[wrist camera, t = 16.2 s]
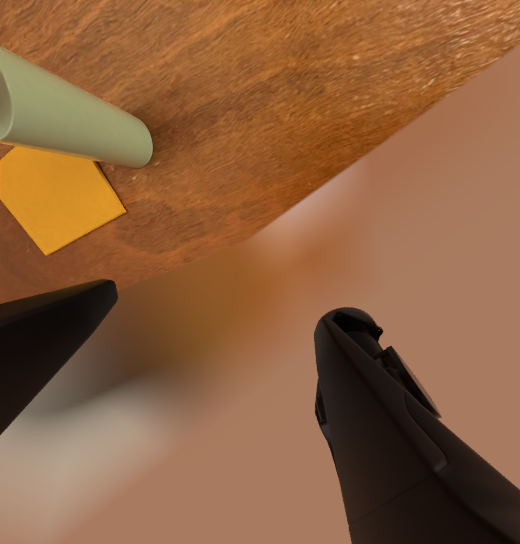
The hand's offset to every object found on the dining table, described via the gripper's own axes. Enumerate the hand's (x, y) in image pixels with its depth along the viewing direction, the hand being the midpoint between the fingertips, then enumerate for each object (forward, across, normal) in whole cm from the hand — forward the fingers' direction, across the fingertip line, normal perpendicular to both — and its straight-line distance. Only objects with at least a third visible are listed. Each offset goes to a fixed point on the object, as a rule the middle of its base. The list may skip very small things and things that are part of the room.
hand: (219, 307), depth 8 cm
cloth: (+15, +22, +1) cm, 27 cm away
